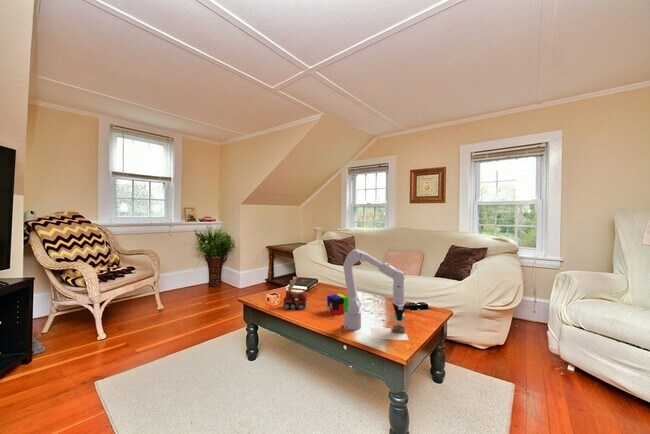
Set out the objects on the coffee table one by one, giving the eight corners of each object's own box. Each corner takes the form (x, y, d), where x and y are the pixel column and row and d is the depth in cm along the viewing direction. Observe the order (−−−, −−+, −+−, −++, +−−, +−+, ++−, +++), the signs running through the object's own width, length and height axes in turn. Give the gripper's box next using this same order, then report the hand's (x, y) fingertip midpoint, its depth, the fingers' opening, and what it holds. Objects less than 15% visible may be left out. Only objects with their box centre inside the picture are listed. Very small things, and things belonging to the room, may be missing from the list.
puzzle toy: (327, 310, 180) (327, 295, 179) (340, 308, 184) (340, 293, 184) (334, 315, 171) (334, 300, 170) (348, 313, 175) (348, 297, 175)
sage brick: (394, 321, 144) (394, 315, 144) (393, 318, 148) (392, 312, 148) (404, 321, 143) (404, 316, 143) (403, 318, 147) (403, 313, 147)
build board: (372, 340, 137) (372, 338, 137) (370, 329, 150) (370, 327, 150) (408, 342, 135) (408, 339, 135) (404, 330, 148) (404, 328, 148)
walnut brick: (393, 332, 144) (393, 326, 144) (392, 328, 148) (392, 323, 148) (404, 332, 143) (404, 327, 143) (403, 329, 147) (403, 323, 147)
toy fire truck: (305, 310, 181) (305, 283, 181) (282, 309, 183) (282, 283, 183) (308, 304, 192) (308, 279, 192) (287, 303, 194) (286, 279, 194)
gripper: (408, 297, 138) (408, 324, 138) (403, 289, 152) (404, 313, 152) (394, 297, 138) (394, 324, 139) (390, 289, 153) (391, 313, 153)
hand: (398, 318), depth 145 cm, fingers closed on sage brick, 4 cm apart
